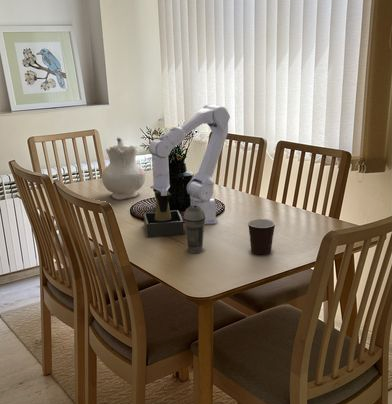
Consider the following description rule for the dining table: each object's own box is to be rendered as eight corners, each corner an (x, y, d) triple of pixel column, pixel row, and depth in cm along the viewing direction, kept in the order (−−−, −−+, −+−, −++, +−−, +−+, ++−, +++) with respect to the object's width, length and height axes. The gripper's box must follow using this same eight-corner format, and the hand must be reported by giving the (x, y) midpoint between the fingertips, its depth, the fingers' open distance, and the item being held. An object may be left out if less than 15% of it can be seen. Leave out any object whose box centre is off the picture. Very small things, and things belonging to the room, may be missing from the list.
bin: (178, 222, 210) (178, 210, 209) (183, 234, 198) (183, 221, 196) (144, 225, 208) (143, 213, 206) (147, 237, 196) (146, 224, 194)
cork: (168, 221, 198) (167, 192, 194) (152, 220, 199) (151, 191, 195) (172, 216, 204) (171, 187, 200) (157, 215, 205) (155, 187, 201)
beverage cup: (190, 256, 179) (188, 197, 172) (180, 249, 185) (178, 192, 178) (210, 252, 182) (209, 194, 175) (199, 245, 188) (198, 188, 181)
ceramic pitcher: (98, 194, 255) (89, 141, 245) (138, 185, 262) (130, 133, 252) (112, 206, 236) (103, 150, 227) (154, 196, 243) (147, 141, 234)
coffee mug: (267, 258, 175) (268, 229, 172) (243, 253, 179) (243, 225, 176) (282, 247, 184) (283, 218, 181) (259, 242, 189) (259, 215, 185)
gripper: (147, 169, 202) (149, 204, 206) (151, 179, 188) (153, 216, 193) (166, 168, 203) (168, 203, 208) (172, 177, 189) (173, 214, 194)
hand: (162, 209), depth 200 cm, fingers closed on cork, 5 cm apart
